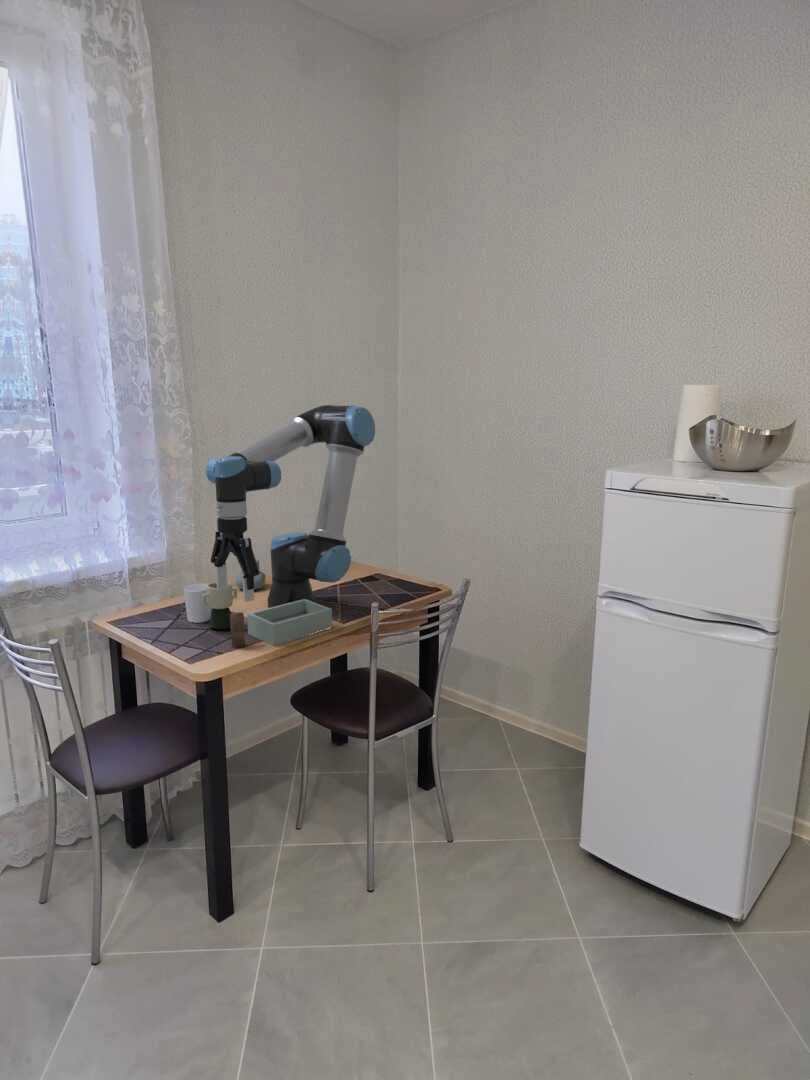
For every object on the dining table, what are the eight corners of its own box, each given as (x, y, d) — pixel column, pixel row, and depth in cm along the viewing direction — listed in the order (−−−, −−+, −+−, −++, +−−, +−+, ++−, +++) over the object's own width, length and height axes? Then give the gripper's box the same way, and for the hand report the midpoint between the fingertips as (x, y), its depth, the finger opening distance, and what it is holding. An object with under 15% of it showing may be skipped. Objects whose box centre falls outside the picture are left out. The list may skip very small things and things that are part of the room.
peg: (229, 646, 192) (227, 615, 190) (238, 642, 195) (236, 611, 193) (238, 649, 190) (237, 617, 188) (247, 645, 193) (246, 613, 191)
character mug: (232, 620, 213) (230, 578, 210) (244, 626, 207) (242, 583, 205) (198, 628, 205) (195, 585, 202) (210, 635, 200) (207, 591, 197)
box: (273, 645, 192) (273, 625, 191) (248, 633, 202) (247, 613, 200) (332, 628, 206) (331, 608, 205) (305, 617, 215) (305, 598, 214)
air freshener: (243, 583, 251) (242, 556, 248) (266, 584, 250) (265, 556, 248) (235, 592, 240) (233, 564, 238) (259, 593, 240) (258, 564, 237)
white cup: (181, 618, 214) (179, 586, 212) (206, 613, 219) (204, 582, 217) (192, 625, 208) (190, 592, 206) (217, 620, 213) (215, 587, 211)
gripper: (195, 511, 191) (199, 588, 195) (245, 525, 173) (248, 608, 178) (220, 508, 196) (223, 583, 200) (271, 521, 178) (273, 602, 183)
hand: (235, 595), depth 189 cm, fingers open, 13 cm apart
